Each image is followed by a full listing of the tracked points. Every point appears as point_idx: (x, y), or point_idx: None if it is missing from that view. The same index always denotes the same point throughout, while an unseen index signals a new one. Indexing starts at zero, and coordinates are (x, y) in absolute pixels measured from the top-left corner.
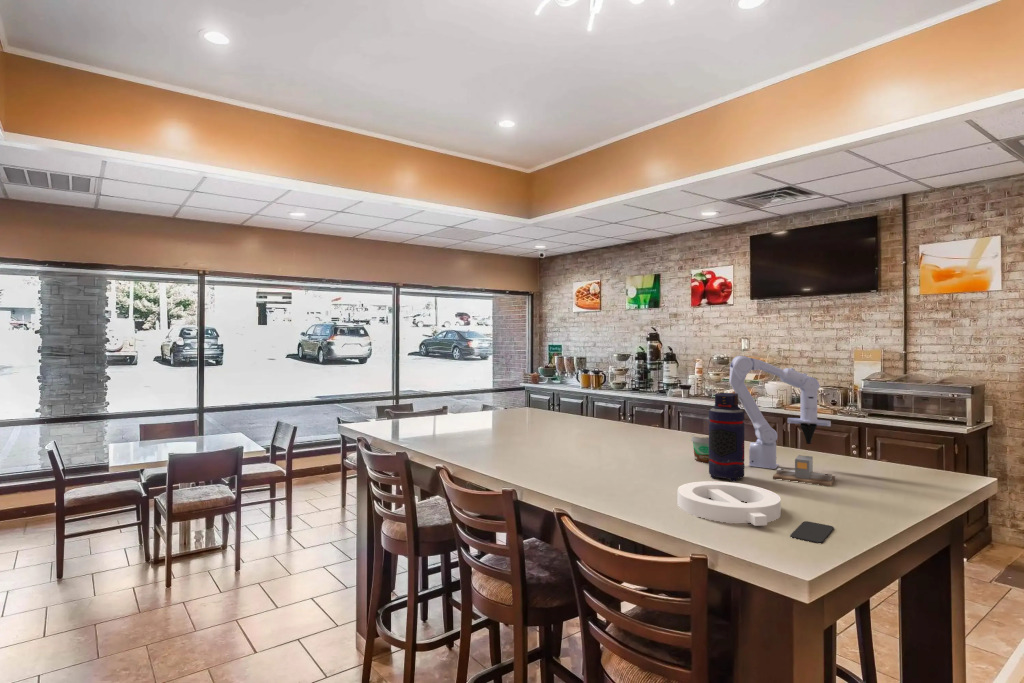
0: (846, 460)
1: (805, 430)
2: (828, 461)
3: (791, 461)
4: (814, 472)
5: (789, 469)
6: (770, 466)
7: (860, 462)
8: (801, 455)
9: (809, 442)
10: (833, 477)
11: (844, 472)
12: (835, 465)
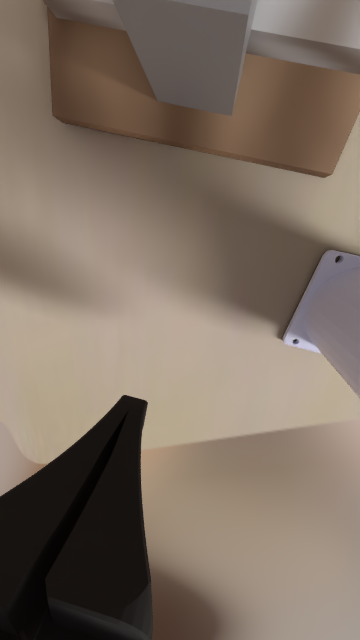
0: None
1: (105, 516)
2: None
3: (215, 419)
4: None
5: (308, 31)
6: (348, 271)
7: (37, 440)
8: (219, 4)
9: (123, 402)
10: (54, 75)
11: (51, 301)
12: (88, 395)
